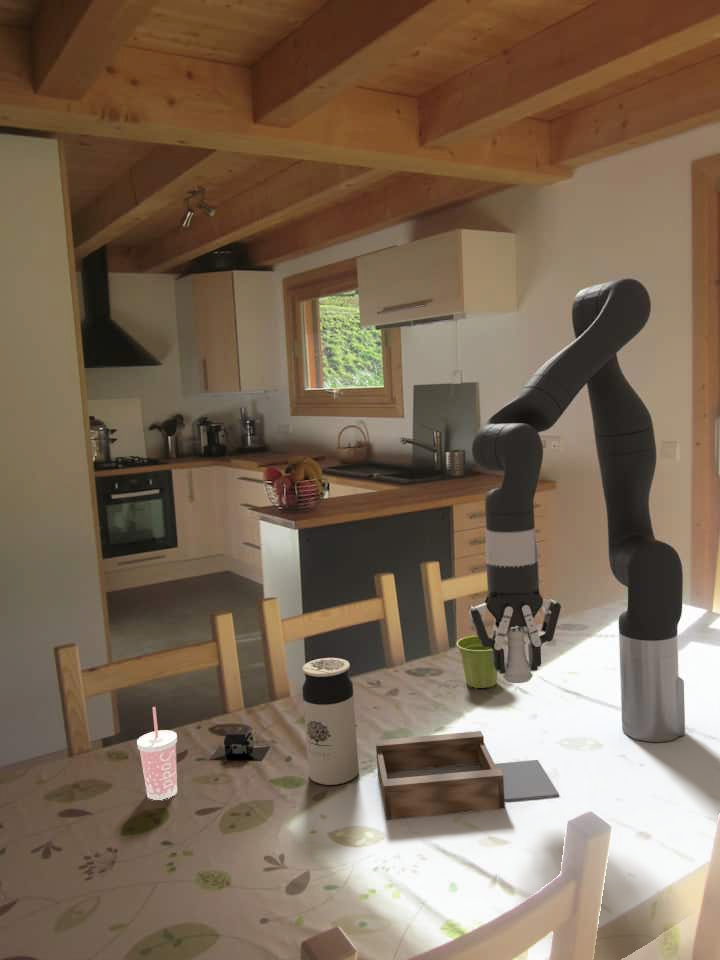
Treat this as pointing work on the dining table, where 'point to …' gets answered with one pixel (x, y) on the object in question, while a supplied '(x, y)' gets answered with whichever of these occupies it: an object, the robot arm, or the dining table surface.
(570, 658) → the dining table surface
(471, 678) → the plant pot
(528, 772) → the charcoal mat
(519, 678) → the rook chess piece
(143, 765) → the beverage cup
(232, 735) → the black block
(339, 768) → the travel mug
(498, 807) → the brown wooden box
